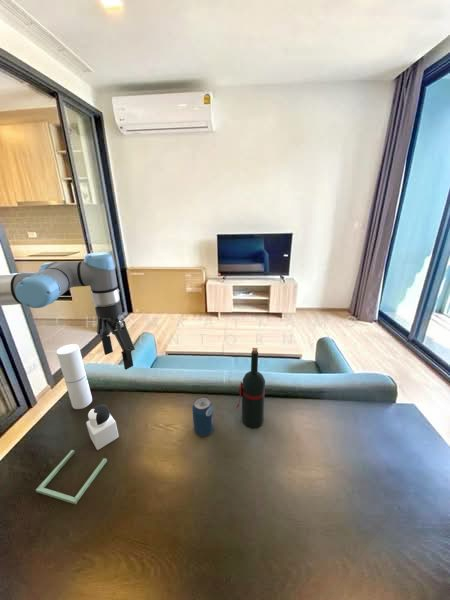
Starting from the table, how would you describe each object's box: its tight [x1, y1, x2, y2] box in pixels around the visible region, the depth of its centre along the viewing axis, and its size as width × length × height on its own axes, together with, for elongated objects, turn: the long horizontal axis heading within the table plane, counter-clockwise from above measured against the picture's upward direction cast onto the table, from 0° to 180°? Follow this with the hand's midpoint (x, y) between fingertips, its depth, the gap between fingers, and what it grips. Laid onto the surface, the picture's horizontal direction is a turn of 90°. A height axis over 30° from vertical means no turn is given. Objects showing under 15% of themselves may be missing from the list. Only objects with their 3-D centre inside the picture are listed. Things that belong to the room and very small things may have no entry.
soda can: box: [191, 396, 214, 437], centre depth 86 cm, size 7×7×12 cm
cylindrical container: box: [56, 343, 93, 410], centre depth 96 cm, size 7×7×25 cm
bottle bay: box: [35, 449, 108, 505], centre depth 73 cm, size 13×12×1 cm
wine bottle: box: [235, 347, 266, 430], centre depth 86 cm, size 8×10×30 cm
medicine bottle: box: [85, 404, 120, 451], centre depth 83 cm, size 7×7×12 cm
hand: (118, 360), depth 86 cm, fingers open, 13 cm apart
